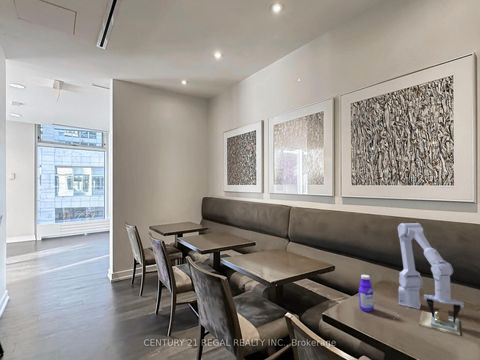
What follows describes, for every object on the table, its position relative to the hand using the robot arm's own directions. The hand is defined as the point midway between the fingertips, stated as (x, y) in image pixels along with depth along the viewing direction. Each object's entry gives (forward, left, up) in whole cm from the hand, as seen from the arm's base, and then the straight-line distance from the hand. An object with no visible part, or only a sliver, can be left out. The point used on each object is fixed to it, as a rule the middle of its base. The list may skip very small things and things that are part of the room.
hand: (443, 318), depth 122 cm
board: (-2, 0, -2) cm, 3 cm away
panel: (0, 0, -2) cm, 2 cm away
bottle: (-32, -5, -3) cm, 33 cm away
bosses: (-2, 0, -2) cm, 3 cm away
